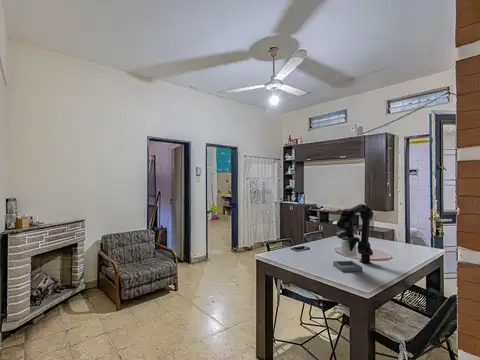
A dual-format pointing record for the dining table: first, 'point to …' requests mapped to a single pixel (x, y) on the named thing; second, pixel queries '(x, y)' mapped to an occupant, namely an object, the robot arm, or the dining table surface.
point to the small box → (348, 249)
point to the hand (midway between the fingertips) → (348, 249)
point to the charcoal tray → (347, 266)
